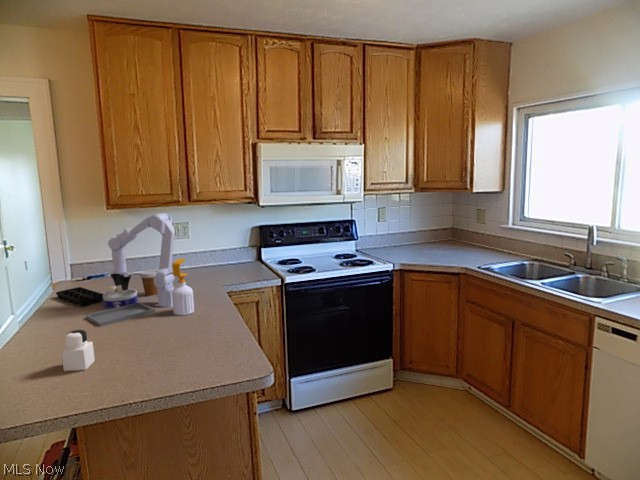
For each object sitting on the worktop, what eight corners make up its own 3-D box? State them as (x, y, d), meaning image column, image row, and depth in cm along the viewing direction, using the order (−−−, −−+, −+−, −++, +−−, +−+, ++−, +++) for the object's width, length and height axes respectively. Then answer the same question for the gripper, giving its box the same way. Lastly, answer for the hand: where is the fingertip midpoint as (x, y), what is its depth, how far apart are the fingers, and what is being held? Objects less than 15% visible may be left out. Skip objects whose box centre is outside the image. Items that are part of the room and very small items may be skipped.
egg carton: (85, 308, 211) (84, 301, 211) (45, 301, 224) (44, 294, 223) (115, 298, 227) (115, 291, 226) (77, 292, 240) (76, 286, 239)
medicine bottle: (73, 362, 151) (69, 328, 149) (95, 361, 151) (91, 327, 149) (63, 371, 144) (58, 336, 142) (86, 370, 144) (82, 335, 142)
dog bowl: (104, 311, 205) (103, 299, 204) (103, 303, 219) (102, 291, 218) (139, 306, 212) (138, 294, 211) (136, 298, 226) (135, 287, 225)
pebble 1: (112, 291, 217) (111, 285, 216) (119, 292, 215) (118, 286, 215) (105, 294, 213) (104, 287, 212) (111, 295, 211) (111, 288, 211)
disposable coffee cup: (138, 296, 229) (135, 273, 227) (151, 291, 237) (149, 269, 236) (152, 297, 225) (150, 275, 223) (165, 292, 234) (163, 270, 232)
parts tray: (139, 306, 212) (139, 302, 211) (155, 313, 201) (155, 308, 200) (86, 319, 195) (85, 314, 194) (100, 327, 184) (99, 322, 183)
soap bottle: (198, 310, 203) (194, 258, 199) (184, 316, 195) (180, 262, 191) (183, 308, 207) (179, 257, 203) (169, 314, 198) (164, 261, 194)
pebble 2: (124, 290, 219) (123, 284, 218) (128, 292, 216) (128, 285, 215) (115, 292, 215) (114, 286, 215) (119, 294, 212) (119, 287, 212)
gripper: (104, 261, 215) (107, 288, 218) (116, 265, 205) (119, 293, 208) (119, 258, 220) (122, 285, 223) (131, 262, 210) (134, 290, 213)
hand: (121, 288), depth 215 cm, fingers open, 7 cm apart
